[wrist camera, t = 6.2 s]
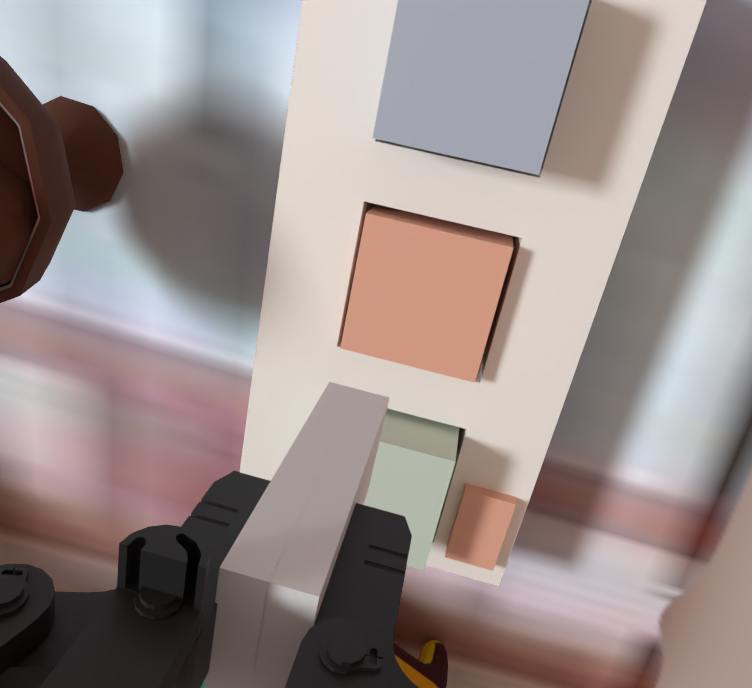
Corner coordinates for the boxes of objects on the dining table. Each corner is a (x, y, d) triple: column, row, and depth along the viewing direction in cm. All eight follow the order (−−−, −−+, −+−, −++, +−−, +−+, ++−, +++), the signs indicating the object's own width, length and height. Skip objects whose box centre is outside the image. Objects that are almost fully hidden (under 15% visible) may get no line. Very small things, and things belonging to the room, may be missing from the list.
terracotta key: (477, 345, 31) (474, 382, 27) (360, 316, 31) (340, 348, 27) (511, 227, 29) (513, 247, 24) (384, 197, 29) (366, 213, 25)
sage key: (433, 511, 33) (424, 570, 29) (323, 481, 33) (299, 534, 29) (460, 413, 31) (455, 461, 26) (342, 382, 31) (319, 425, 27)
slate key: (531, 163, 26) (538, 175, 22) (391, 132, 26) (372, 138, 22) (577, 2, 24) (594, -19, 20) (423, -28, 24) (408, -55, 20)
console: (498, 535, 35) (499, 594, 31) (261, 469, 36) (230, 517, 32) (687, -21, 24) (728, -48, 20) (343, -87, 26) (313, -124, 21)
